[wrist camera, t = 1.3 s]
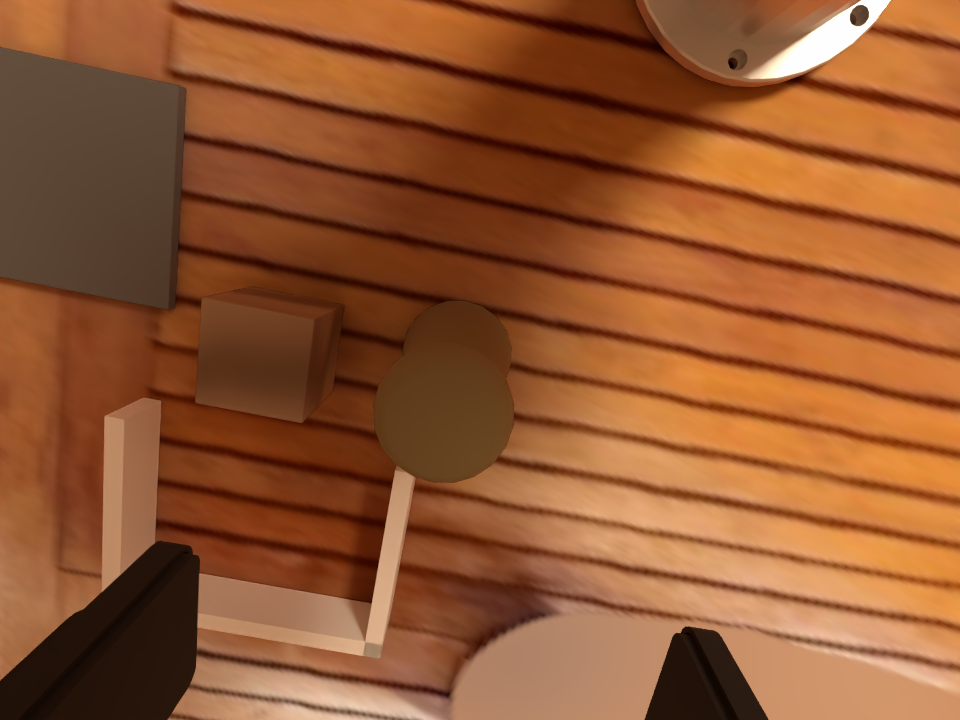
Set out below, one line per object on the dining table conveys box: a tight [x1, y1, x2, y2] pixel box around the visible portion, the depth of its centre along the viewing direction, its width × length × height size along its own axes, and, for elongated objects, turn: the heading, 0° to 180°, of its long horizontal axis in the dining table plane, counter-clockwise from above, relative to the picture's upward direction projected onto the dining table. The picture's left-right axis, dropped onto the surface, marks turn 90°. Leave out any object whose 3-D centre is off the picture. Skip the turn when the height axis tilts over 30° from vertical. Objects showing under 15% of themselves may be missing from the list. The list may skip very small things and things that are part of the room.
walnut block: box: [195, 287, 344, 423], centre depth 25 cm, size 5×5×5 cm
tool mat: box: [0, 47, 186, 310], centre depth 25 cm, size 11×11×1 cm
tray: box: [102, 398, 416, 659], centre depth 28 cm, size 12×16×3 cm
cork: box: [373, 301, 514, 483], centre depth 22 cm, size 6×6×11 cm
